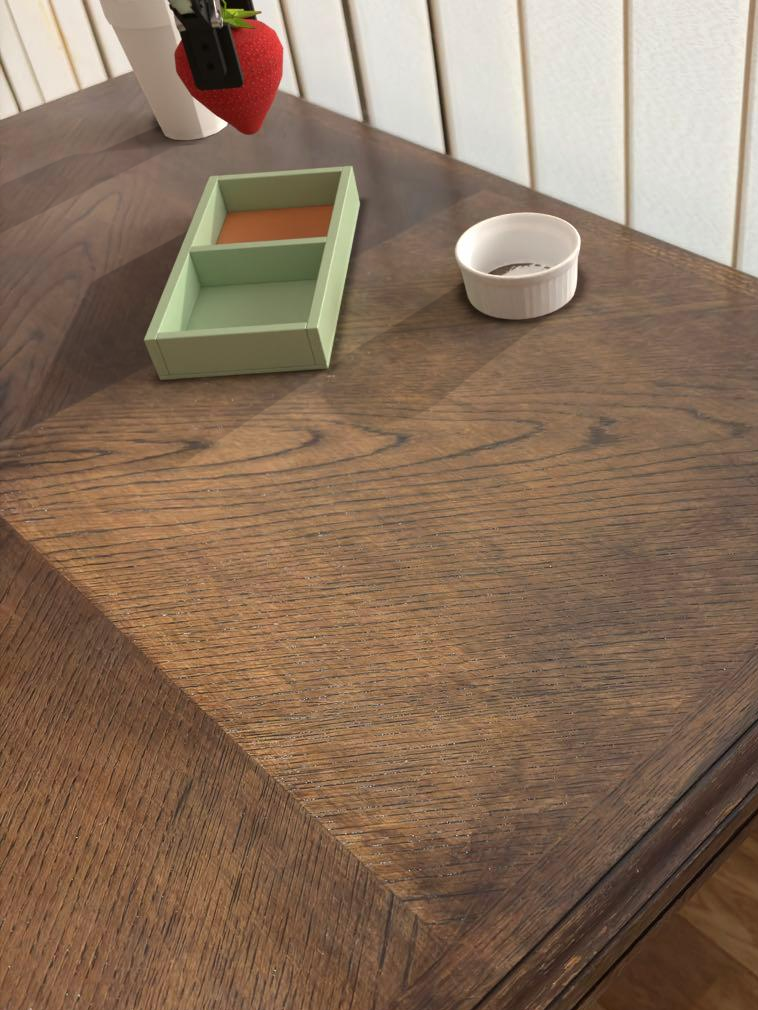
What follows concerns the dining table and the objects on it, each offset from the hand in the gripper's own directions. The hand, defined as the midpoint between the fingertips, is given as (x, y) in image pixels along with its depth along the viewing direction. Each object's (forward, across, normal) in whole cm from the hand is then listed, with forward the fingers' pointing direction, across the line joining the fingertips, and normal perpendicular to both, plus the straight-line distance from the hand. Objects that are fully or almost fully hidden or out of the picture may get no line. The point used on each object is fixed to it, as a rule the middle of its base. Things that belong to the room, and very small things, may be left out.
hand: (230, 63), depth 74 cm
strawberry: (+5, 0, 0) cm, 5 cm away
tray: (+15, +5, 0) cm, 16 cm away
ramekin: (+15, +8, +19) cm, 26 cm away
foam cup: (+15, -25, -12) cm, 31 cm away
